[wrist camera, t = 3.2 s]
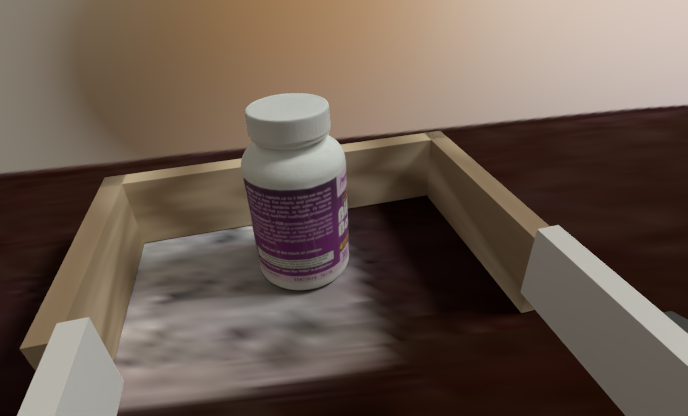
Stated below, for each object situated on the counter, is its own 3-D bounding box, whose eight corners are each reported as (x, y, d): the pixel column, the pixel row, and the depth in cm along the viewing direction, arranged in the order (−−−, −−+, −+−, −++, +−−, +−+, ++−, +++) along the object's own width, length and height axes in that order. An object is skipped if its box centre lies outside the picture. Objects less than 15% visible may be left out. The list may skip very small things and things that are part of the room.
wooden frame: (434, 184, 32) (440, 130, 29) (542, 308, 21) (564, 239, 19) (128, 235, 28) (104, 177, 25) (69, 418, 17) (19, 348, 15)
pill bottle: (365, 277, 23) (362, 113, 18) (273, 306, 22) (241, 136, 17) (330, 226, 28) (321, 81, 22) (252, 248, 26) (221, 97, 21)
